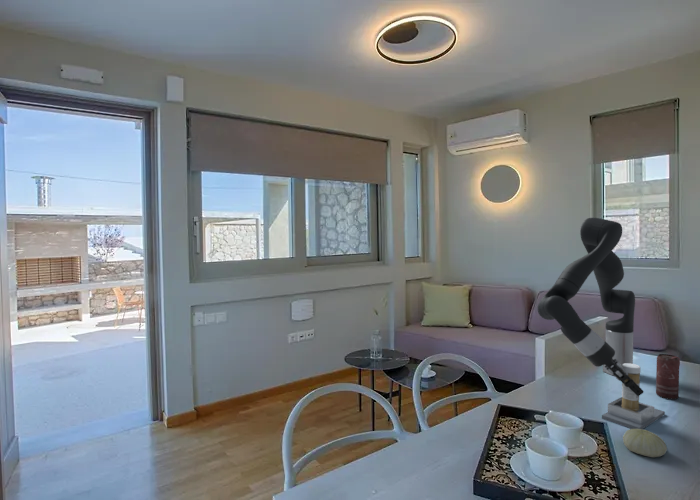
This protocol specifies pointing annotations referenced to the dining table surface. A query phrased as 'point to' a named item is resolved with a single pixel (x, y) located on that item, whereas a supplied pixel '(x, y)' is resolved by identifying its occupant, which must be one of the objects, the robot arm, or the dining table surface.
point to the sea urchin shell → (644, 443)
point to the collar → (631, 412)
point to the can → (667, 376)
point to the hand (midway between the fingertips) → (638, 390)
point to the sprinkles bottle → (628, 395)
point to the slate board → (633, 425)
